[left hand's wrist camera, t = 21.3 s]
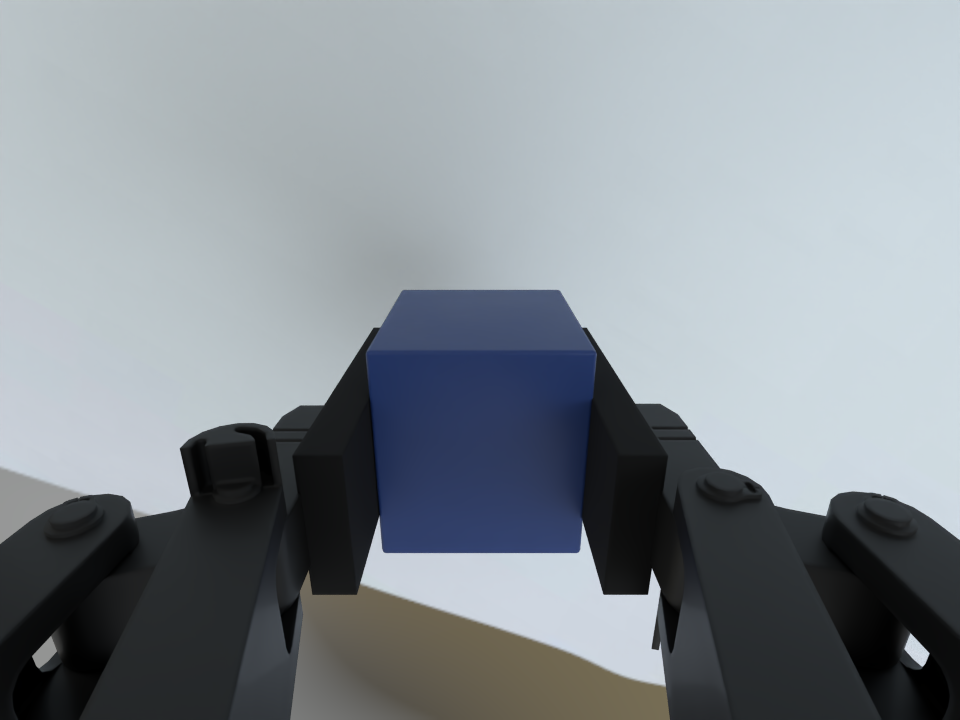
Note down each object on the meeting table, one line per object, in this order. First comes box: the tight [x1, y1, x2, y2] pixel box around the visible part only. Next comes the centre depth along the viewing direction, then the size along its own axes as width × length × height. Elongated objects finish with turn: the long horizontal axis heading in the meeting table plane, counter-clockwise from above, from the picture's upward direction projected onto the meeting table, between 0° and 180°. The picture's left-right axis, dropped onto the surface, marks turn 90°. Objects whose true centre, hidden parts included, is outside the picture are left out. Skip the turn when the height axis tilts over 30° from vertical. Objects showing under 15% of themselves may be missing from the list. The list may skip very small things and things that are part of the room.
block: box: [366, 290, 597, 553], centre depth 12 cm, size 4×5×5 cm
